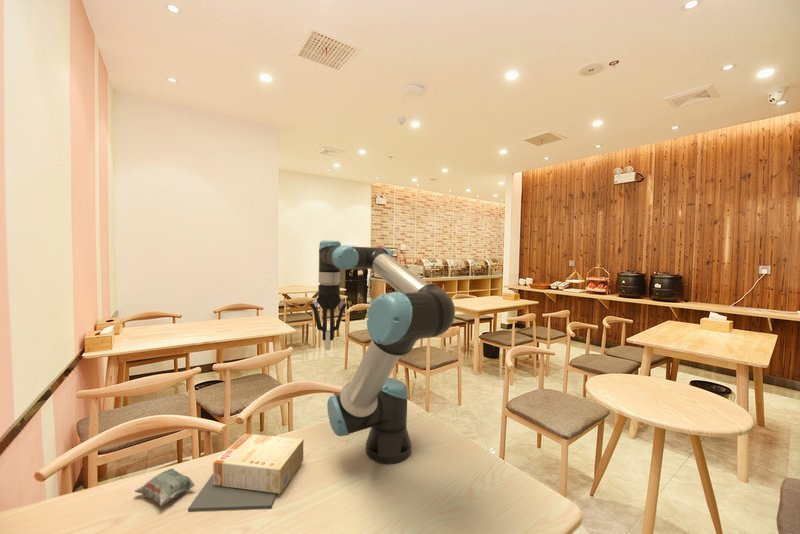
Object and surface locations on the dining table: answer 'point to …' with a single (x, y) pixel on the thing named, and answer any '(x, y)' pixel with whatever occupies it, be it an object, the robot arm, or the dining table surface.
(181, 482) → the packaged food
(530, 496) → the dining table surface
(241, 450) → the coffeecake box
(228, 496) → the mat
